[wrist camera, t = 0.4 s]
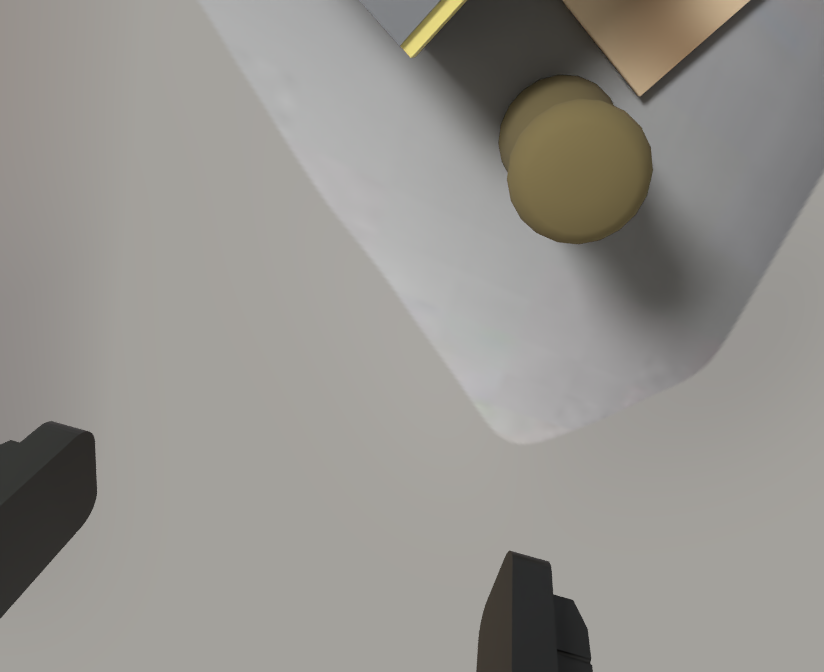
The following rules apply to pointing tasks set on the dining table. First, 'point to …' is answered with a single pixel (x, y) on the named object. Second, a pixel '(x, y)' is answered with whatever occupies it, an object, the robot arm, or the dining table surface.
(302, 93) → the dining table surface
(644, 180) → the olive brown knobbed peg
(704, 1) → the cork coaster
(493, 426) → the dining table surface
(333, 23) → the dining table surface
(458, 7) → the box
